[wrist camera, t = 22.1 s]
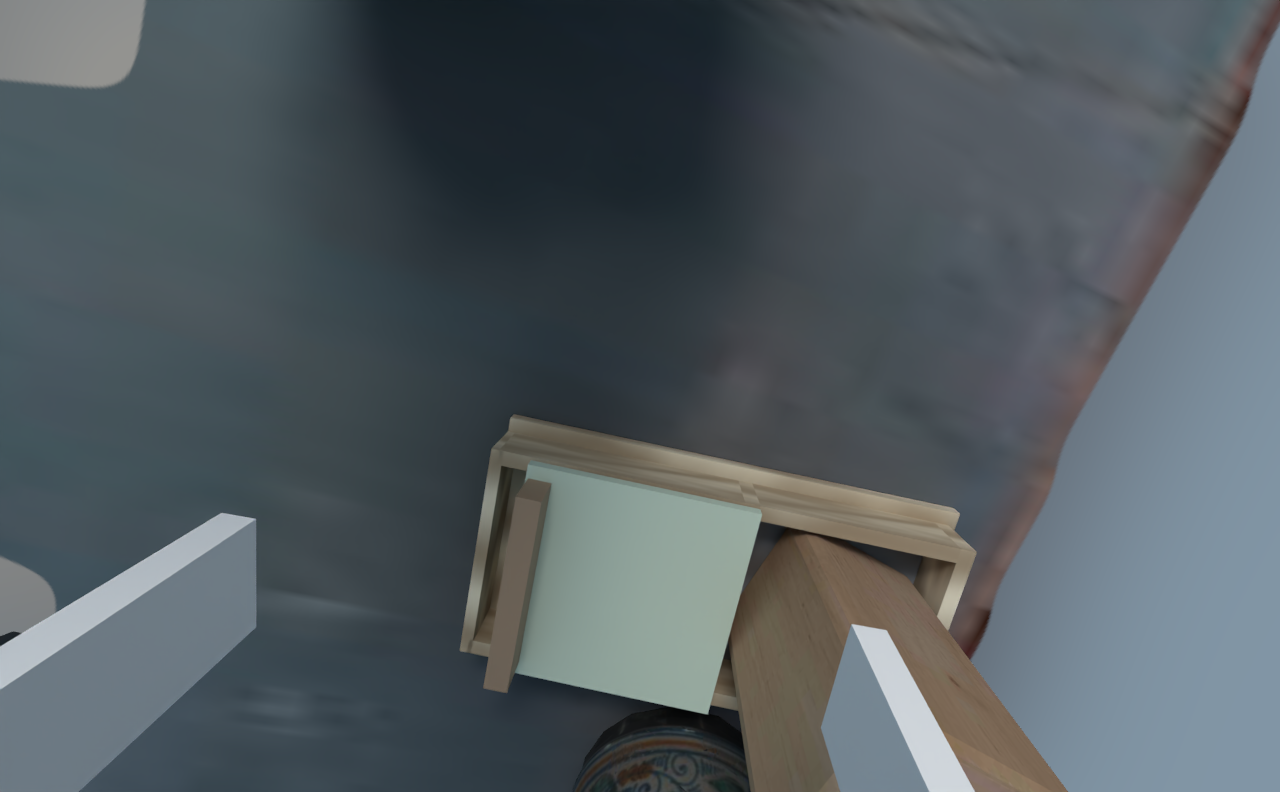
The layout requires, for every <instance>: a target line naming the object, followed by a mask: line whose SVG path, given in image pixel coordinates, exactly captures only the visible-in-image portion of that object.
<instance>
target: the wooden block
mask: <svg viewBox="0 0 1280 792" xmlns="http://www.w3.org/2000/svg"><path fill="white" fill-rule="evenodd" d="M851 624H854V625H860V626H866V627H871V628H877V629H883V630H887V632H888V634H889V636H890V637H891V639H892V641H893V643H894V645H895V646H896V648H897V650H898V652H899V654H900V656H901V657H902V659H903V661H904V663H905V665H906V667H907V668H908V670H909V672H910V674H911V676H912V678H913V679H914V681H915V683H916V685H917V687H918V689H919V690H920V692H921V694H922V696H923V698H924V699H925V701H926V703H927V705H928V707H929V709H930V710H931V712H932V714H933V716H934V718H935V720H936V721H937V723H938V725H939V727H940V729H941V731H942V732H943V734H944V736H945V738H946V740H947V742H948V743H949V745H950V747H951V749H952V751H953V752H954V754H955V756H956V758H957V760H958V762H959V763H960V765H961V767H962V769H963V771H964V773H965V774H966V776H967V778H968V780H969V782H970V784H971V785H972V787H973V789H974V791H975V792H1068V791H1067V790H1066V788H1065V787H1064V786H1063V784H1062V783H1061V782H1060V781H1059V779H1058V778H1057V776H1056V775H1055V774H1054V772H1053V771H1052V770H1051V768H1050V767H1049V766H1048V764H1047V763H1046V762H1045V761H1044V759H1043V758H1042V756H1041V755H1040V754H1039V753H1038V751H1037V750H1036V748H1035V747H1034V746H1033V744H1032V743H1031V742H1030V740H1029V739H1028V738H1027V736H1026V735H1025V734H1024V732H1023V731H1022V730H1021V728H1020V727H1019V726H1018V724H1017V723H1016V722H1015V720H1014V719H1013V718H1012V716H1011V715H1010V714H1009V712H1008V711H1007V710H1006V708H1005V707H1004V706H1003V705H1002V703H1001V702H1000V700H999V699H998V698H997V696H996V695H995V694H994V692H993V691H992V690H991V688H990V687H989V686H988V684H987V683H986V681H985V680H984V679H983V678H982V676H981V675H980V673H979V672H978V671H977V669H976V668H975V667H974V666H973V664H972V663H971V661H970V660H969V659H968V657H967V656H966V655H965V653H964V652H963V651H962V649H961V648H960V647H959V645H958V644H957V643H956V641H955V640H954V639H953V637H952V636H951V635H950V633H949V632H948V631H947V629H946V628H945V627H944V625H943V624H942V623H941V621H940V620H939V619H938V617H937V616H936V615H935V613H934V612H933V611H932V609H931V608H930V607H929V605H928V604H927V603H926V601H925V600H924V599H923V597H922V596H921V595H920V593H919V592H918V591H917V589H916V588H915V587H914V585H913V584H912V583H911V581H910V580H909V579H908V577H907V576H905V575H903V574H902V573H900V572H898V571H896V570H895V569H893V568H891V567H889V566H888V565H886V564H884V563H882V562H881V561H879V560H877V559H875V558H874V557H872V556H870V555H868V554H866V553H865V552H863V551H861V550H859V549H858V548H856V547H854V546H852V545H851V544H849V543H847V542H845V541H844V540H842V539H840V538H837V537H832V536H827V535H823V534H818V533H813V532H809V531H804V530H799V529H795V528H790V527H787V529H786V530H785V532H784V533H783V535H782V536H781V538H780V539H779V540H778V542H777V543H776V545H775V546H774V548H773V549H772V551H771V552H770V553H769V555H768V556H767V558H766V559H765V561H764V562H763V563H762V565H761V566H760V568H759V569H758V571H757V572H756V574H755V575H754V576H753V578H752V579H751V581H750V582H749V584H748V585H747V586H746V588H745V589H744V591H743V592H742V594H741V595H740V598H739V601H738V605H737V609H736V612H735V616H734V620H733V623H732V627H731V631H730V634H729V638H728V643H729V650H730V656H731V663H732V670H733V677H734V683H735V690H736V697H737V703H738V710H739V717H740V724H741V730H742V737H743V744H744V750H745V757H746V764H747V770H748V777H749V784H750V791H751V792H840V789H839V786H838V783H837V779H836V776H835V773H834V769H833V766H832V763H831V760H830V756H829V753H828V750H827V746H826V743H825V740H824V736H823V733H822V730H821V725H822V722H823V719H824V715H825V712H826V708H827V705H828V702H829V698H830V695H831V692H832V688H833V685H834V681H835V678H836V675H837V671H838V668H839V664H840V661H841V658H842V654H843V651H844V648H845V644H846V641H847V637H848V634H849V631H850V627H851Z"/></svg>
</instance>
